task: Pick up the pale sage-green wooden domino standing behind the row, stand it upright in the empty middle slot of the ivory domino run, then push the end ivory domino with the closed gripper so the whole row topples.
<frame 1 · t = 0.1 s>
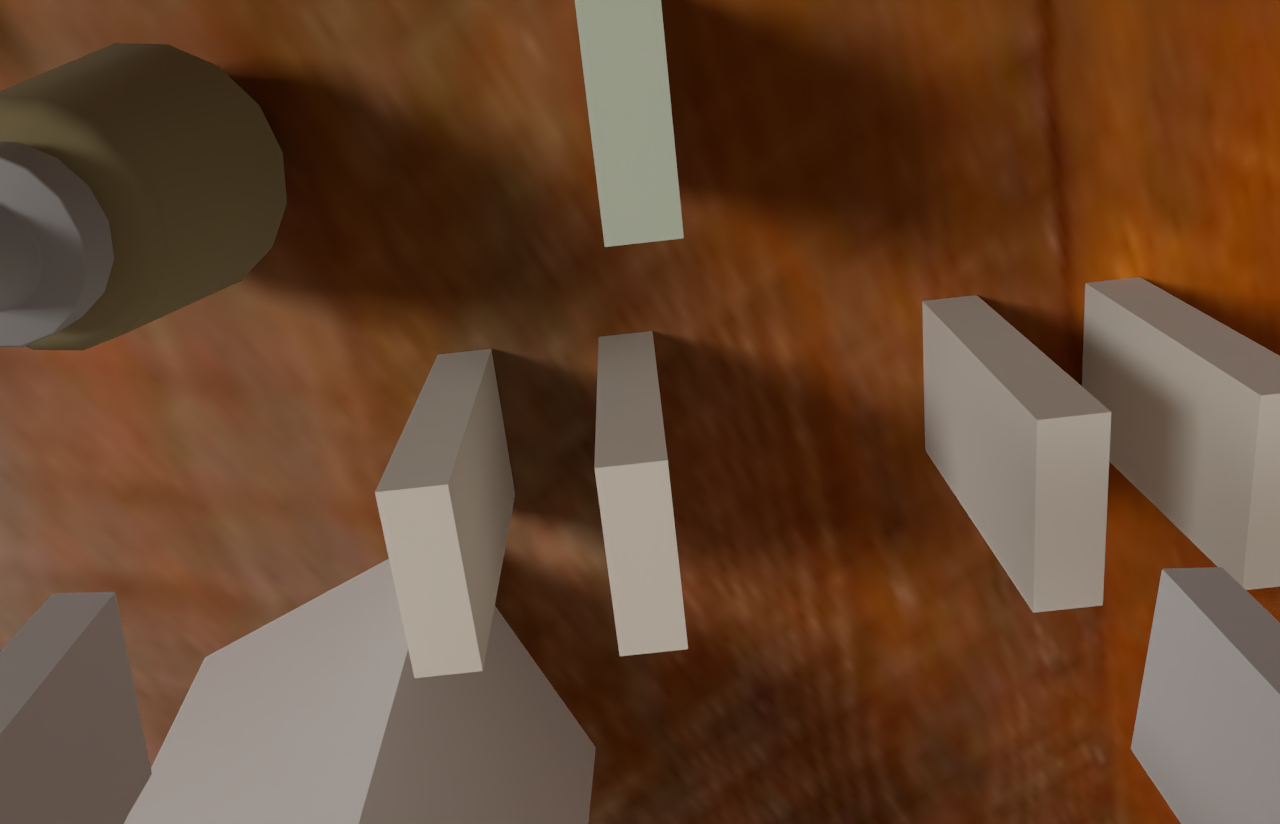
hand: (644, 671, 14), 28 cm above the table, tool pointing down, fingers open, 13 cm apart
domino 2: (950, 374, 43), on the table
squeeze bottle: (199, 157, 39), on the table
domino 5: (477, 426, 43), on the table
milk: (405, 700, 48), on the table
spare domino: (625, 79, 39), on the table
domino 1: (1109, 357, 43), on the table
domino 4: (634, 409, 43), on the table
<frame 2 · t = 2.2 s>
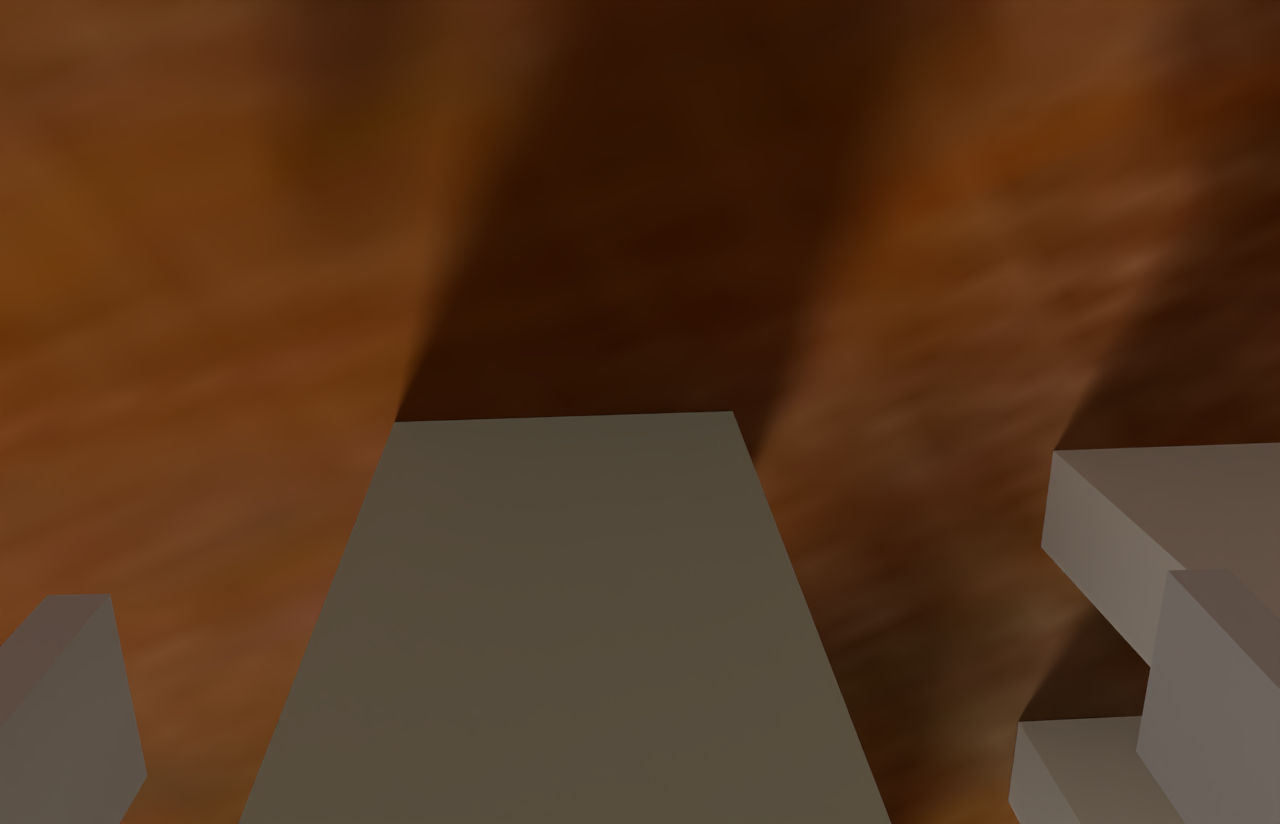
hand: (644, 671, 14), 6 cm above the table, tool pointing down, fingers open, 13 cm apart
domino 5: (1154, 754, 24), on the table
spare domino: (566, 468, 20), on the table
domino 4: (1197, 490, 22), on the table, touching gripper
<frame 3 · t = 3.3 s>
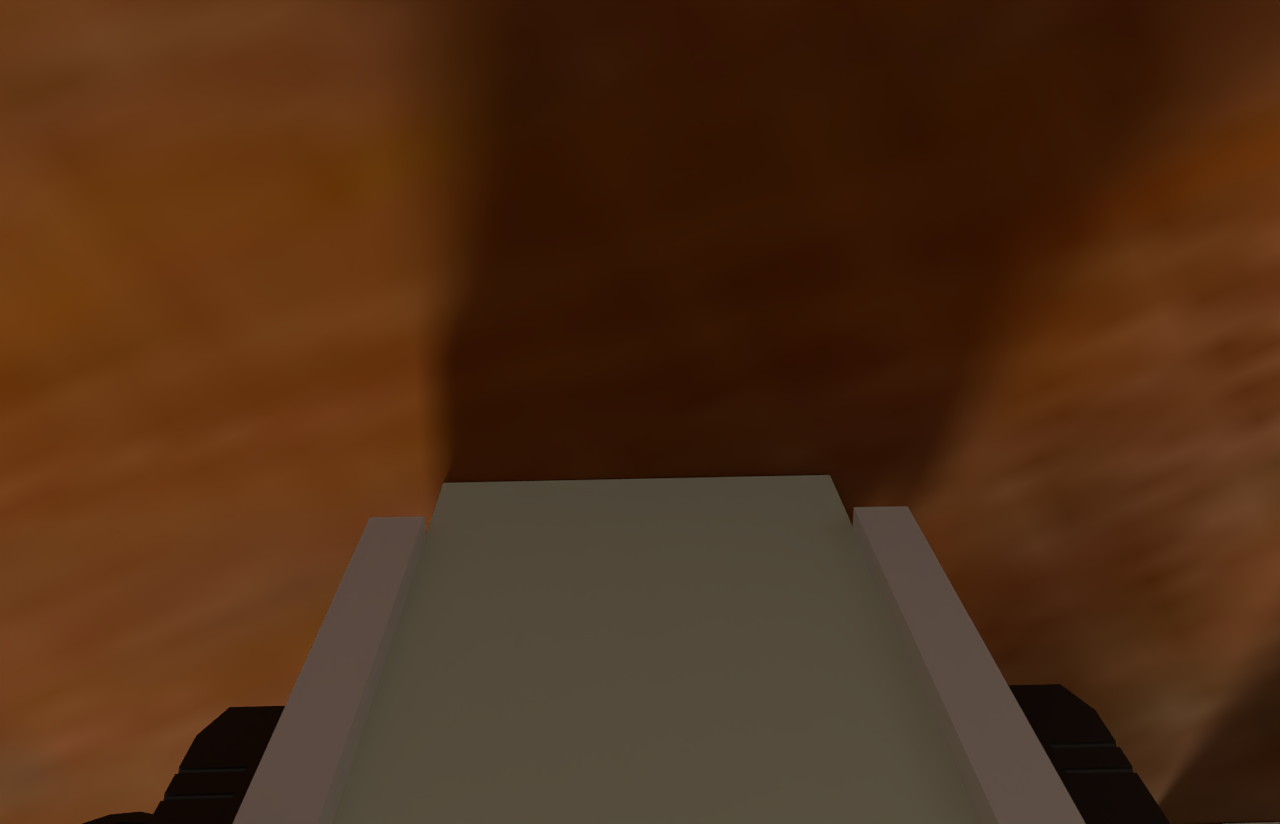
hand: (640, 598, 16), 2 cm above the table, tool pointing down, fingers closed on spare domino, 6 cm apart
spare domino: (637, 536, 18), on the table, touching gripper
when the fingers open (3 cm above the table, at t = 10.1 s): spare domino stays where it is, on the table.
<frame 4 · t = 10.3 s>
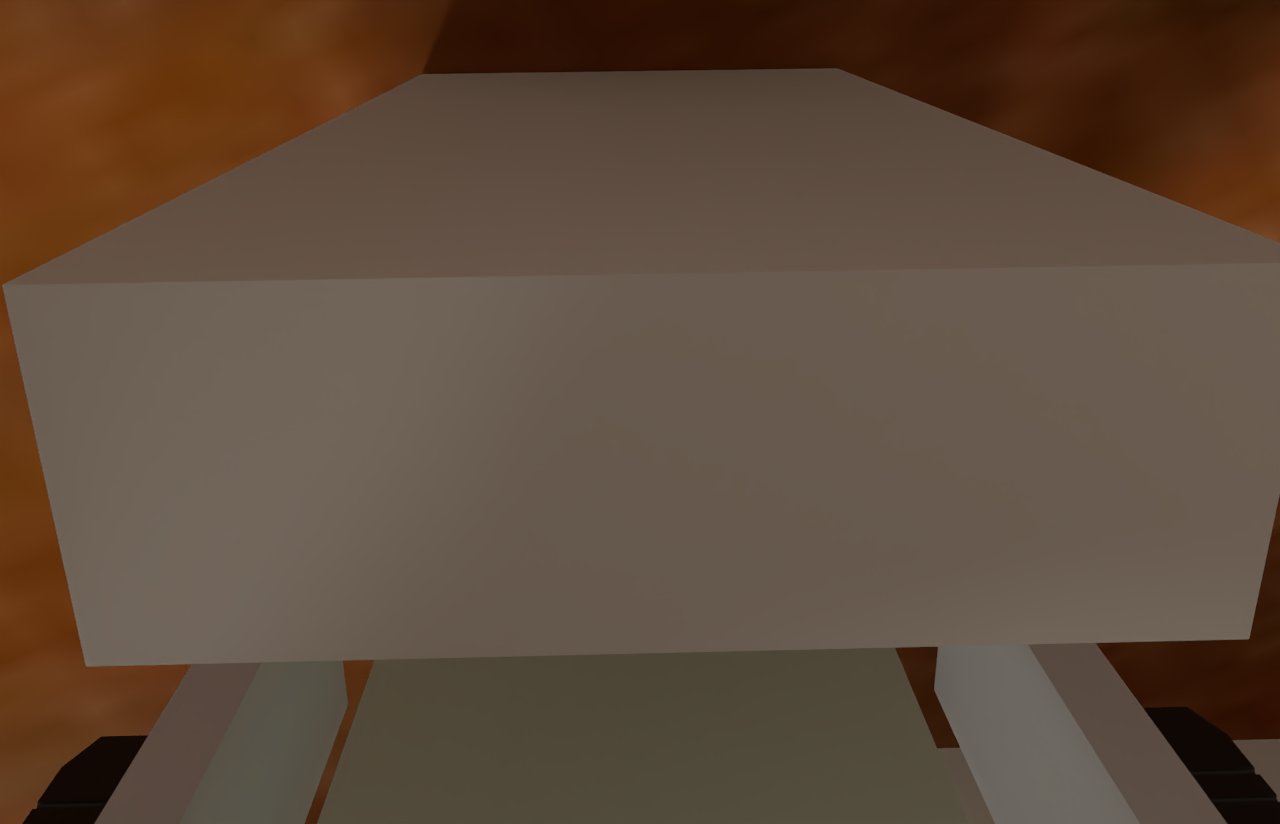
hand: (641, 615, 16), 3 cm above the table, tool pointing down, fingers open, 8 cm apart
domino 2: (631, 141, 17), on the table
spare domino: (630, 510, 19), on the table
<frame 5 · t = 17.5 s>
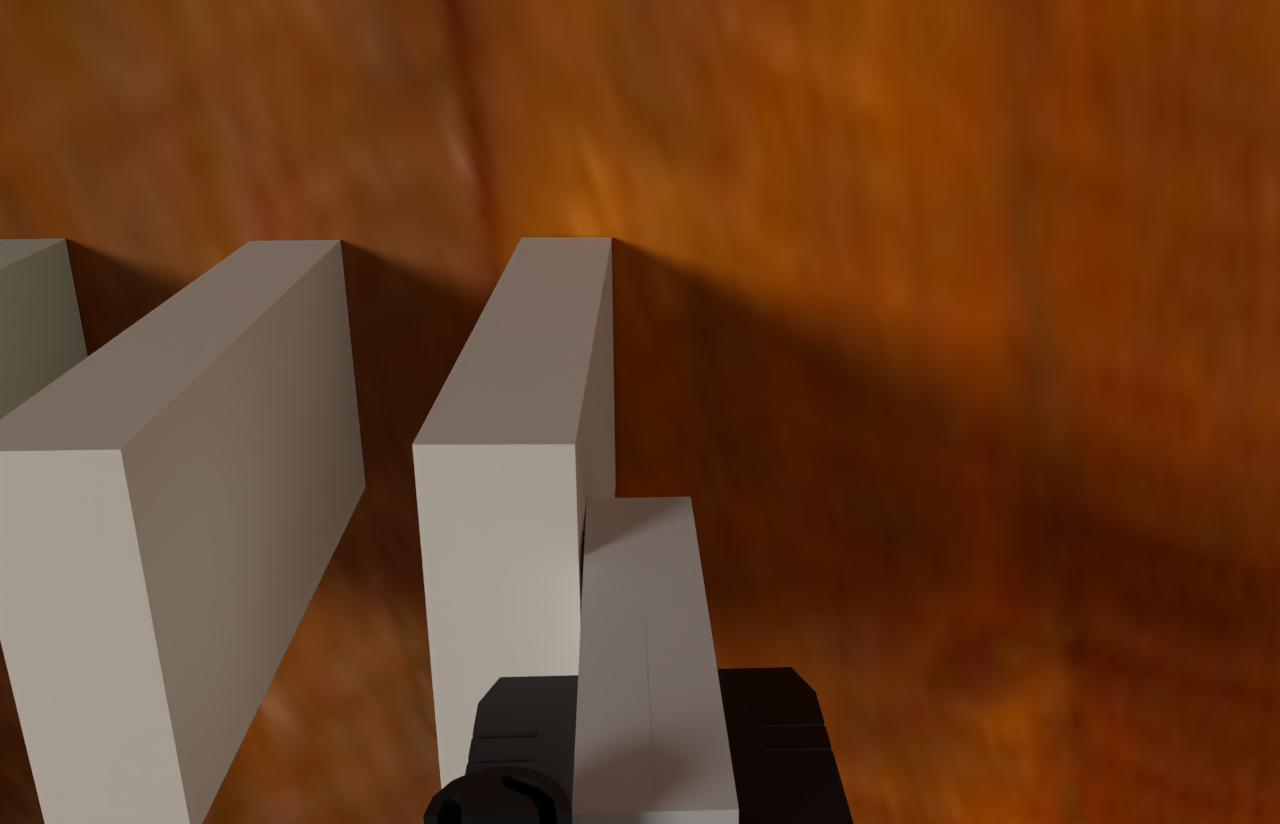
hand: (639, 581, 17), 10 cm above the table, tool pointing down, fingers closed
domino 2: (310, 368, 26), on the table
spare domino: (45, 368, 26), on the table
domino 1: (570, 365, 26), on the table, touching gripper
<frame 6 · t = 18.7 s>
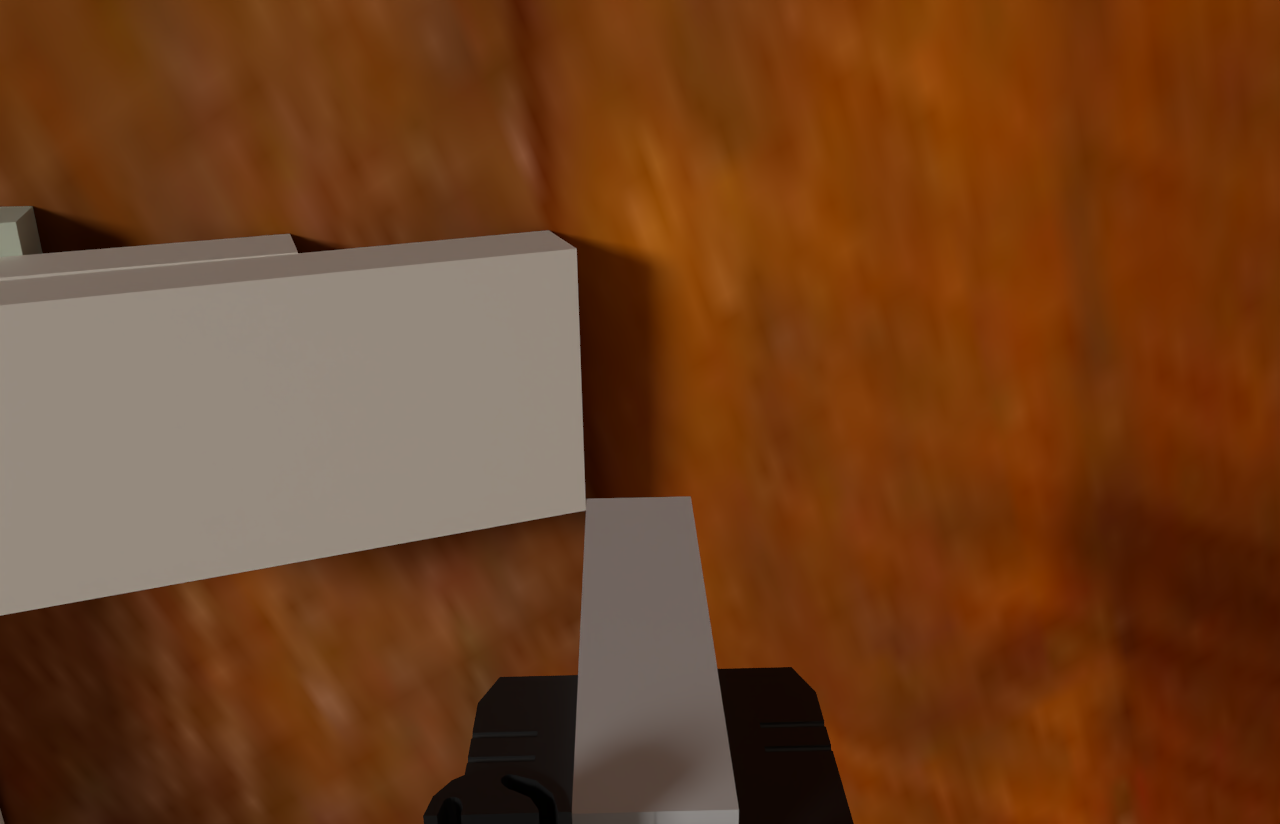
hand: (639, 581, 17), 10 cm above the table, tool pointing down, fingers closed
domino 2: (309, 375, 25), point 1 cm above the table, tilted 71°, touching domino 1
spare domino: (53, 347, 25), point 1 cm above the table, tilted 75°
domino 1: (567, 371, 25), point 1 cm above the table, tilted 70°, touching domino 2
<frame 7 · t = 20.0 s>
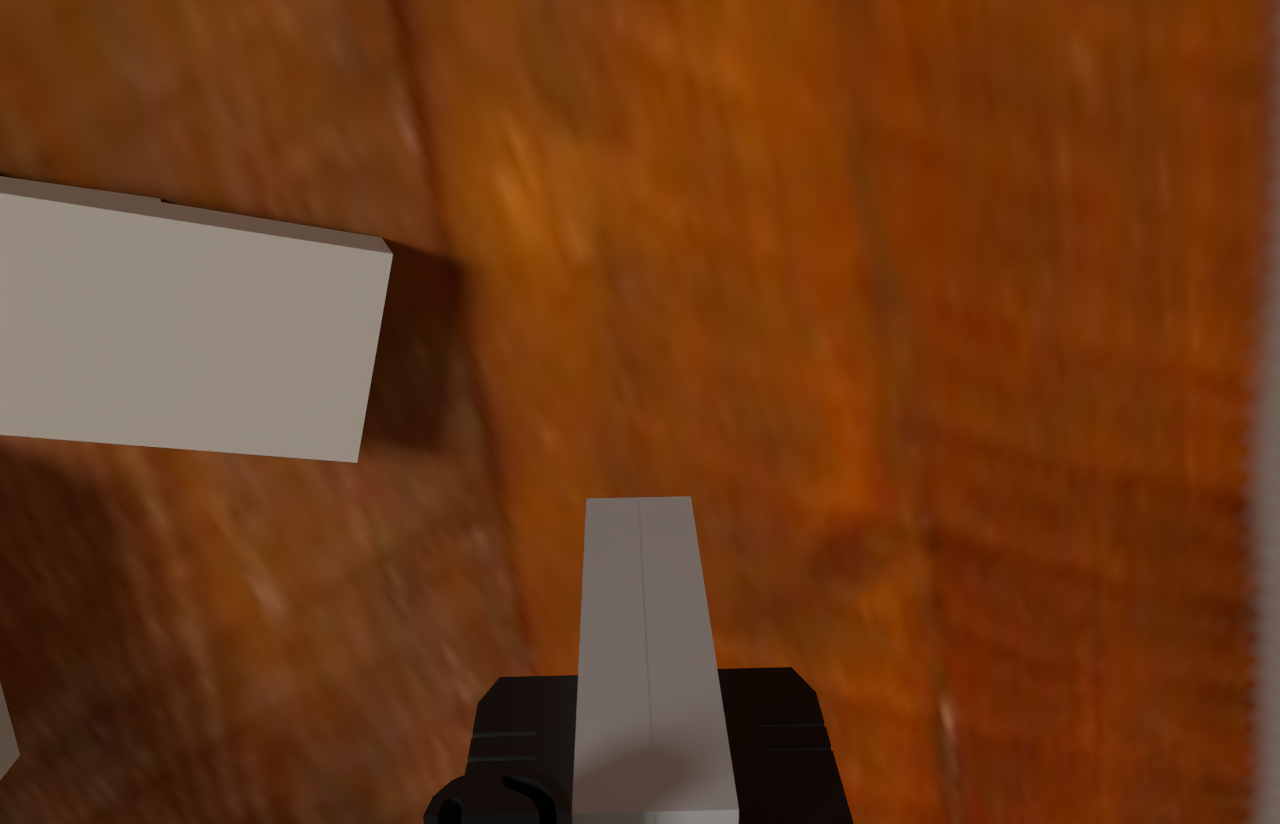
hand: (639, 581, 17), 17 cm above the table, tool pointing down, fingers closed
domino 1: (369, 350, 32), point 1 cm above the table, tilted 71°, touching domino 2
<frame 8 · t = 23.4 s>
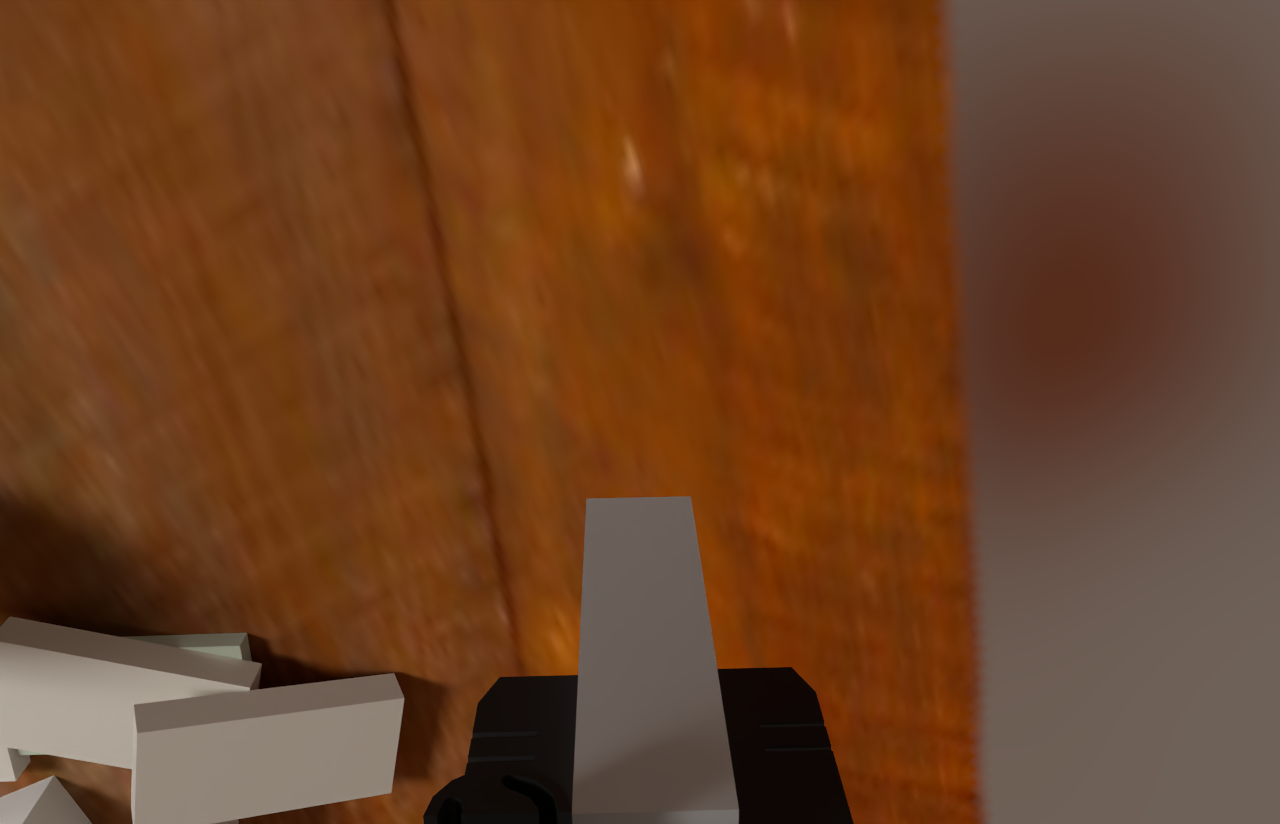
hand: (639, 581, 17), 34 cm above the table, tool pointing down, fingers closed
domino 2: (248, 725, 56), point 2 cm above the table, tilted 90°, touching domino 1, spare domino
domino 5: (12, 719, 57), point 1 cm above the table, tilted 90°
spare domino: (254, 685, 57), on the table, tilted 90°, touching domino 2
domino 1: (392, 733, 57), point 1 cm above the table, tilted 65°, touching domino 2
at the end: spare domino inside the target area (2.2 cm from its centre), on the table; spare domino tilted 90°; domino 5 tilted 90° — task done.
